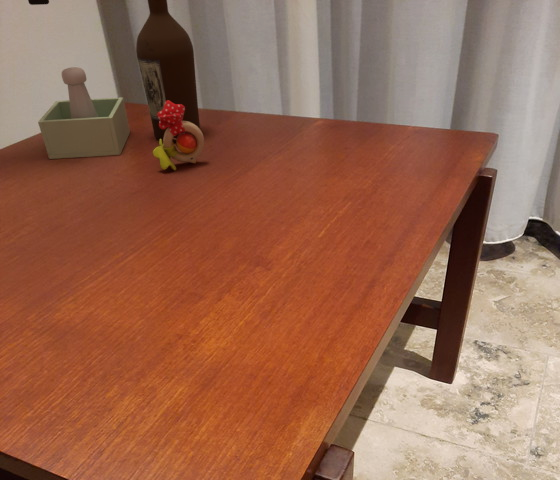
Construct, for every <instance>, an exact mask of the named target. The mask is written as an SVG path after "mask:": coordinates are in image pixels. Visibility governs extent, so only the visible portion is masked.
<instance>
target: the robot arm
mask: <svg viewBox="0 0 560 480" xmlns="http://www.w3.org/2000/svg"><path fill="white" fill-rule="evenodd" d="M27 1H28V4H29V5H30V6H38V5H40V6H41V5H49V4H50V0H27Z"/></svg>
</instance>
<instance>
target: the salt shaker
mask: <svg viewBox="0 0 560 480" xmlns="http://www.w3.org/2000/svg"><path fill="white" fill-rule="evenodd" d="M61 79H62V82H63V84H64V85H67V91H68V100H69V101H70V111H71V119H78V118H95V117H98V115H97V112H96V110H95V108H94V105H93V103H92V100H91V99H92V98H91V96H90V94H89V91H88V89H87V86H86V81H87V75H86V72H85V70H84V69H83V68H81V67H75V66H72V67H67V68H64V69H63V70H62V71H61Z"/></svg>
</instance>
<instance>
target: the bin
mask: <svg viewBox="0 0 560 480" xmlns="http://www.w3.org/2000/svg"><path fill="white" fill-rule="evenodd" d="M91 100H92V103H93V105H94V108H95V110H96V112H97V115H98V117H95V118H78V119H71V111H70V101H69V99H67V100H55V101H54V103H53V104H52V105H51V106H50V107H49V109H48V110H47V111H46V112H45V113H44V115H43V116H41V118H40V119H39V120H38V122H37V123H38V127H39V130H40V134H41V136H42V140H43V143H44V147H45V149H46V153H47V156H48V159H49V160H55V159H56V160H59V159H75V158H90V157H91V158H92V157H93V158H94V157H106V156H107V157H109V156H120V155H121V154H122V152H123V149H124V147H125V146H126V143H127V141H128V138H129V136H130V133H131V128H130V123H129V119H128V113H127V110H126V109H127V108H126V104H125V99H124V96H123V97H106V98H91Z"/></svg>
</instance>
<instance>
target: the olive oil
mask: <svg viewBox="0 0 560 480" xmlns="http://www.w3.org/2000/svg"><path fill="white" fill-rule="evenodd" d="M147 5H148V10H149V14H148V17H147V19H146V21H145V22H144V24H143V26H142V28H141V29H140V31H139V33H138V35H137V37H136V44H135V45H136V47H135V50H136V51H135V53H136V59H137V63H138V68H139V71H140V76H141V81H142V84H143V88H144V93H145V98H146V103H147V106H148V111H149V115H150V116H149V117H150V121H151V125H152V130H153V135H154V138H155V139H156V140H157V141H159V140H160V139H161V140H162V142H163V138H164V134H165V131H166V129H167V128H168V127H167V128H165V129H161V128H160V127H159V121H160V120H159V118H158V116H157V114H158V112H160V111H162V110H163V108H164V105H165V102H166V101H167V100H170V101H171V102H172V103H174V104H182V105H183V106H184V107H185V111H184V115H183V119H182V121H188V122H191V123H193V124H195V125H196V126H197V127H198V128H199V129H200V130H201V123H200V114H199V104H198V92H197V79H196V66H195V53H194V52H195V51H194V45H193V42H192V40H191V37H190V35H189V34H188V32H187V31H186V30H185V28H184V27H183V26H182V25H181V24H180V23H179V22H178V21H177V20H176V19H175V18H174V17H173V16H172V15H171V14H170V12H169V6H168V0H147ZM186 132H187V131H186ZM178 135H179V134H178ZM178 135H176V136H174V137H173V138H175V139H177V137H178ZM175 139H172V142H173V143H176V141H177V140H175Z"/></svg>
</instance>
